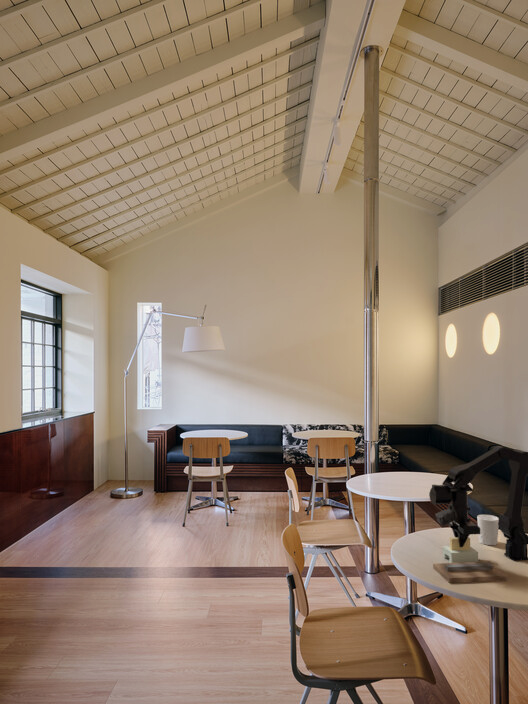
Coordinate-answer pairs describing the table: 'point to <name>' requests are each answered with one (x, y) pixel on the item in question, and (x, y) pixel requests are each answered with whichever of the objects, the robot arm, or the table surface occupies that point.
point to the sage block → (459, 552)
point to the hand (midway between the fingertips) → (459, 546)
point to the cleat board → (469, 572)
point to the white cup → (488, 529)
